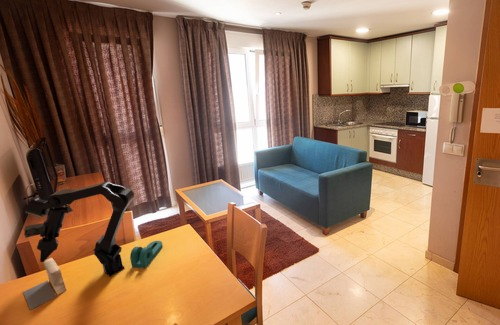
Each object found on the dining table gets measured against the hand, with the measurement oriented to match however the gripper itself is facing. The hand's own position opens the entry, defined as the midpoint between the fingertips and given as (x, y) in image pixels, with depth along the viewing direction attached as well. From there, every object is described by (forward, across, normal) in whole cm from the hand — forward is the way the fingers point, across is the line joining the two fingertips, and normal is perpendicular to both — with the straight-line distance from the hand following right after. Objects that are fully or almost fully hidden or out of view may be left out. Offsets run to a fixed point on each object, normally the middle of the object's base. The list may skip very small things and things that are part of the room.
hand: (42, 256), depth 105 cm
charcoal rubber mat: (+13, +6, +3) cm, 14 cm away
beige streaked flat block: (+10, +4, +8) cm, 14 cm away
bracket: (-6, +8, +40) cm, 41 cm away
